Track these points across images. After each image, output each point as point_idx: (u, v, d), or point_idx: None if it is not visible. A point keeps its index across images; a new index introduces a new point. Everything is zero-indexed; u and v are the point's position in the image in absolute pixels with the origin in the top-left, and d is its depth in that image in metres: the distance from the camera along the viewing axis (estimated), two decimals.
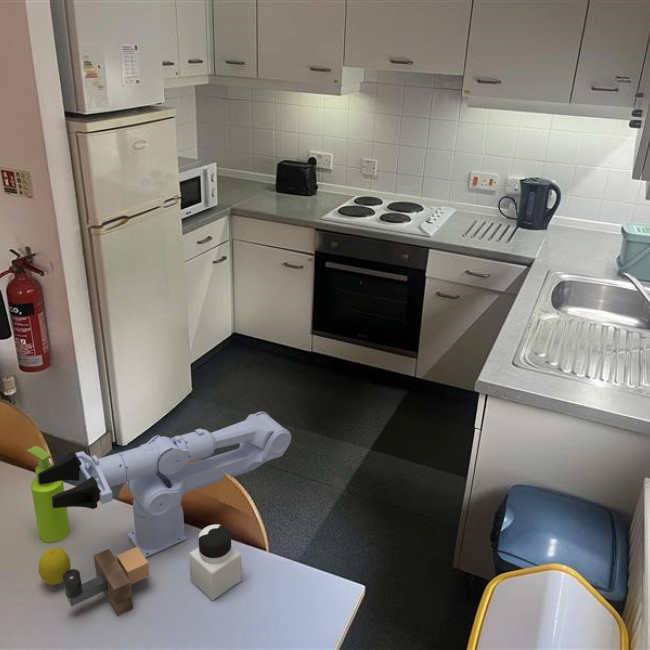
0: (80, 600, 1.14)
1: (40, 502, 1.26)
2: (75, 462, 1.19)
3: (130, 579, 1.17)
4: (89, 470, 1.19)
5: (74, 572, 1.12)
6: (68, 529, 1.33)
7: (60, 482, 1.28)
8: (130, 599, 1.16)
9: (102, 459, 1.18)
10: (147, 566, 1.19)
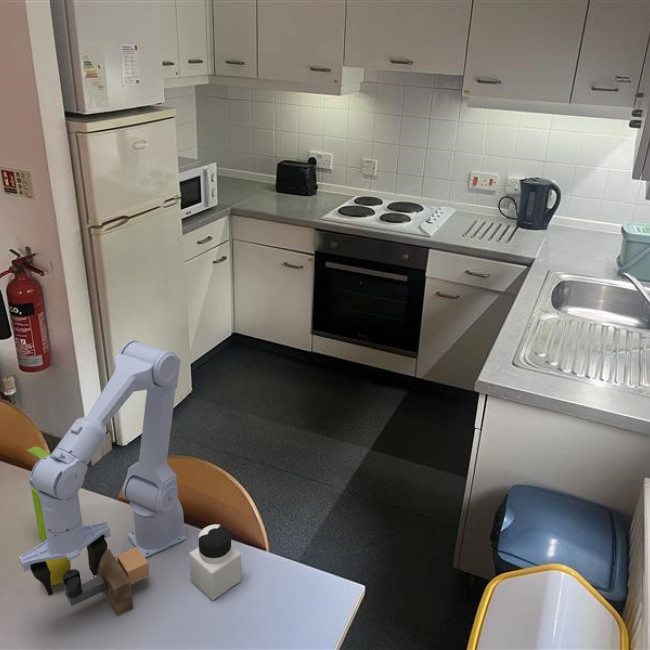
0: (80, 600, 1.14)
1: (40, 502, 1.26)
2: (47, 567, 1.06)
3: (130, 579, 1.17)
4: None
5: (74, 572, 1.12)
6: None
7: None
8: (130, 599, 1.16)
9: (68, 546, 1.06)
10: (147, 566, 1.19)
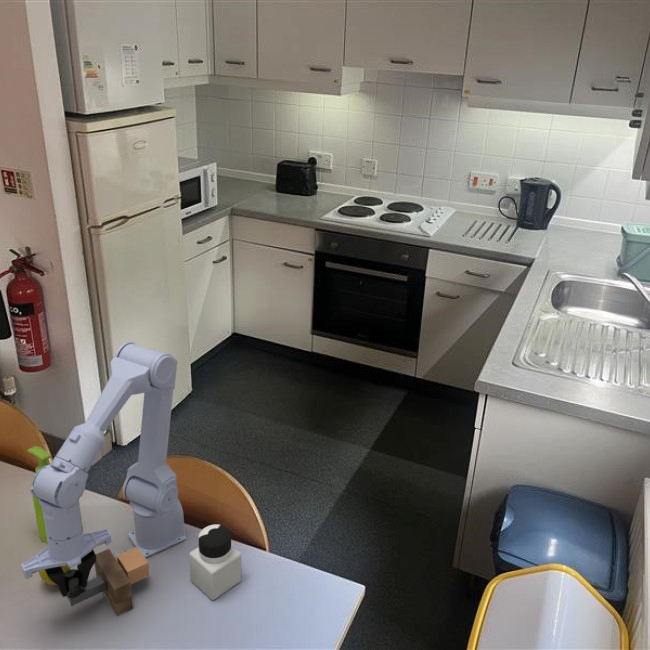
0: (80, 600, 1.14)
1: None
2: (62, 569, 1.08)
3: (130, 579, 1.17)
4: None
5: (74, 572, 1.12)
6: None
7: None
8: (130, 599, 1.16)
9: (69, 554, 1.06)
10: (147, 566, 1.19)
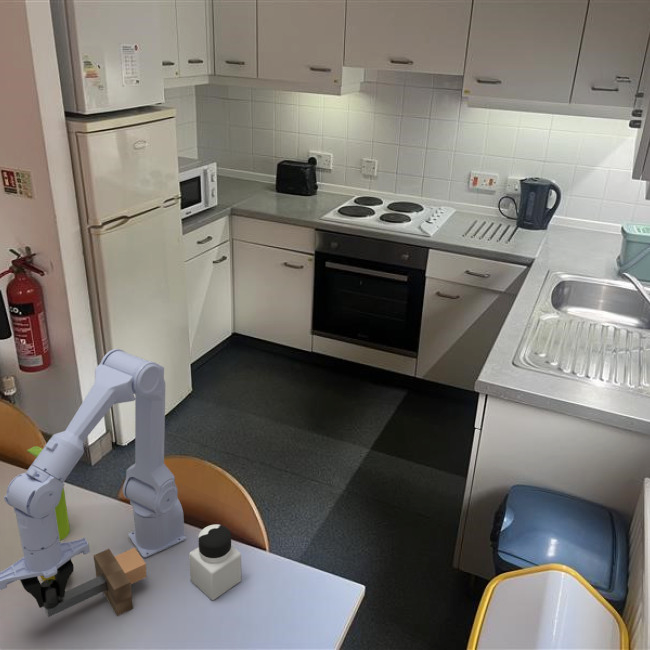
0: (58, 610, 1.11)
1: None
2: None
3: None
4: None
5: (51, 582, 1.10)
6: (68, 529, 1.33)
7: None
8: (130, 599, 1.16)
9: (45, 564, 1.04)
10: (144, 567, 1.18)
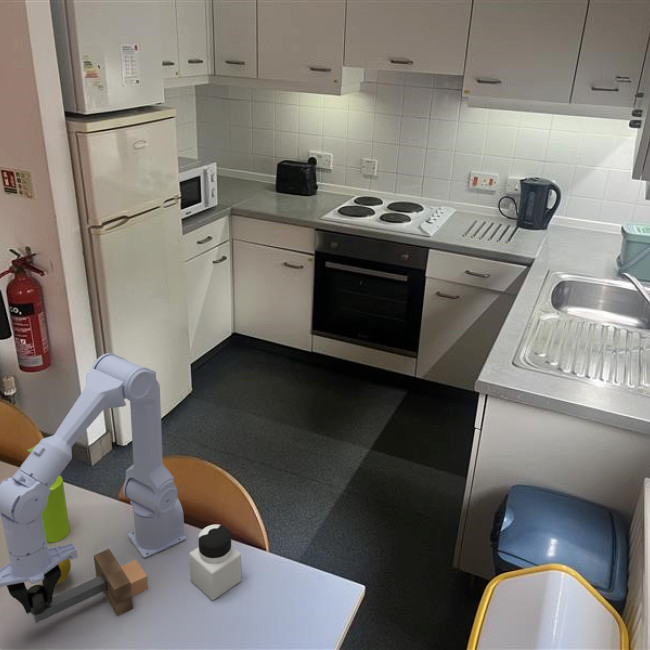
0: (45, 616, 1.10)
1: None
2: (24, 585, 1.05)
3: None
4: None
5: (39, 588, 1.09)
6: (68, 529, 1.33)
7: (60, 482, 1.28)
8: (130, 599, 1.16)
9: (31, 570, 1.03)
10: (146, 579, 1.20)
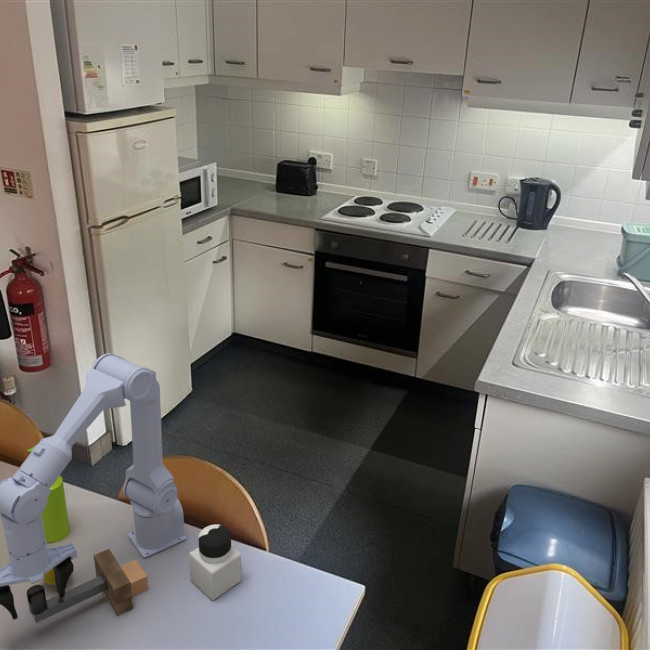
0: (45, 616, 1.10)
1: None
2: None
3: None
4: None
5: (38, 588, 1.09)
6: (68, 529, 1.33)
7: (60, 482, 1.28)
8: (130, 599, 1.16)
9: (31, 570, 1.03)
10: (146, 579, 1.20)
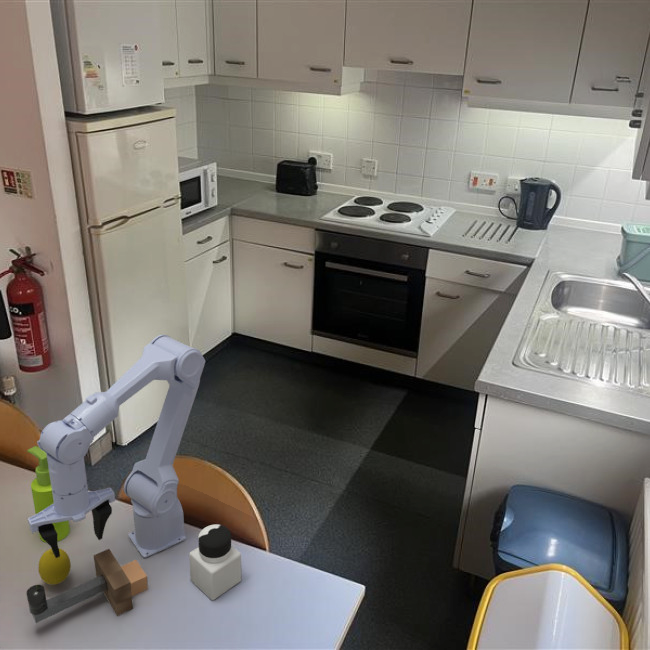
0: (45, 616, 1.10)
1: (40, 502, 1.26)
2: (54, 529, 1.10)
3: None
4: None
5: (38, 588, 1.09)
6: (68, 529, 1.33)
7: None
8: (130, 599, 1.16)
9: (74, 509, 1.10)
10: (146, 579, 1.20)
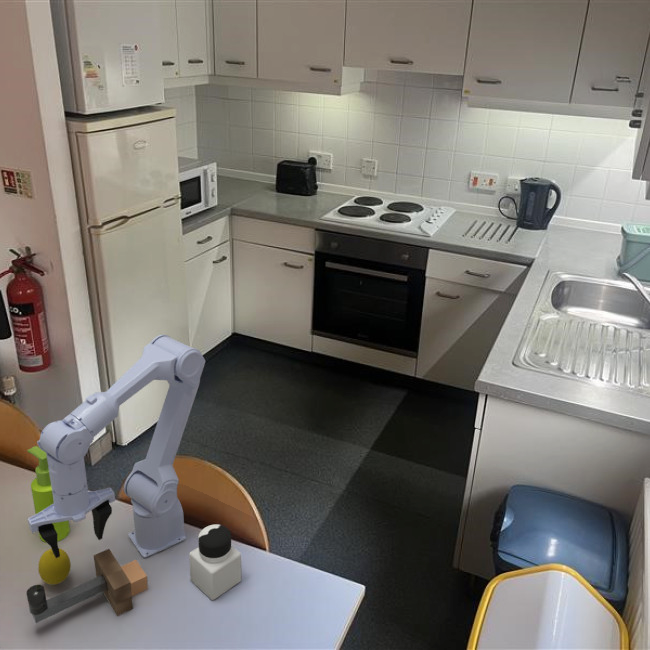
0: (45, 616, 1.10)
1: (40, 502, 1.26)
2: (54, 529, 1.10)
3: None
4: None
5: (38, 588, 1.09)
6: (68, 529, 1.33)
7: None
8: (130, 599, 1.16)
9: (74, 509, 1.10)
10: (146, 579, 1.20)
